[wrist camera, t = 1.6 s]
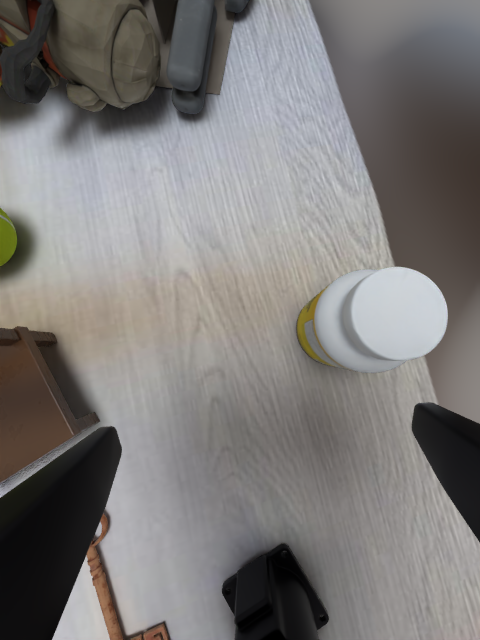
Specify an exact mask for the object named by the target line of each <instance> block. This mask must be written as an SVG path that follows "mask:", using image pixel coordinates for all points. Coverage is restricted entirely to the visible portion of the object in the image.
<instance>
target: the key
mask: <svg viewBox="0 0 480 640" xmlns="http://www.w3.org/2000/svg"><path fill="white" fill-rule="evenodd" d="M100 522H101V524H102V533H101V536H100V537H99V538H98V539H97V540H95V541H93V540H92V542H91V545H90V547H89V549H88V552H87V554H86V555H87V558H88V561H87V562H88V565H89V566H90V568H91V570H90V573H91V576H93V578H92V581H93V586H95V588H96V592H97V595H98V599H99V602H100V606H101V609H102V613H103V616H104V619H105V623H106V626H107V630H108V633H109V637H110V640H123V636H122V633H121V630H120V626H119V623H118V619H117V616H116V613H115V609H114V606H113V603H112V599H111V596H110V592H109V589H108V586H107V582H106V579H105V578H106V575H105V573H104V571H102V564H101V563H100V561H99V554H97V551H96V548H95V546H96V545H97V544H98V543H99V542H100V541H101V540H102V539H103V538H104V536H105V534H106V532H107V528H108V522H107V518H106V516H105V515H104V514H103V515H102V517H101V520H100ZM159 632H162V636H163V639H164V640H169V638H168V635H167V632H166V628H165V625H164V623H163V624H161V625H159V626H157V627H155V628H153V629H151V630H149V631H146V632H144V635H143V636H144V640H162V637H161V634H160V633H159ZM157 633H159V634H157ZM155 634H157V635H155ZM130 640H143V637H142V634H140V635H138V636H136V637H134V638H132V639H130Z"/></svg>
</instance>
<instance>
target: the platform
mask: <svg viewBox="0 0 480 640" xmlns="http://www.w3.org/2000/svg"><path fill="white" fill-rule="evenodd" d="M139 1H140V2H141V4H142V5H143V7H144V8H145V11H146V14H147V18H148V21H149V22H150V23H151V25H152V27H153V29H154V31H155V33H156V36H157V38H158V40H159V43H160V50H159V51H160V55H161V69H160V76H159V78H158V80H157V81H156V83H155V86H158V87H165V88H173V86H172V85H171V83H170V82H169V80H168V78H167V73H166V70H167V63H168V56H169V51H170V45H171V39H172V33H173V28H174V22H175V15H176V10H177V4H178V0H139ZM214 5H215V6H216V9H217V22H216V27H215V34H214V40H213V46H212V53H211V59H210V65H209V71H208V78H207V84H206V91H205V93H211V94H219V95H220V90H221V84H222V79H223V74H224V69H225V64H226V58H227V53H228V48H229V43H230V38H231V33H232V27H233V22H234V17H235V12H230V11H226V10H225V0H215V1H214Z"/></svg>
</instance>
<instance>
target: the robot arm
mask: <svg viewBox="0 0 480 640" xmlns="http://www.w3.org/2000/svg"><path fill="white" fill-rule="evenodd" d="M412 431H413V434H414V436H415V438H416V440H417V442H418V443H419V445H420V447H421V449H422V451H423V452H424V454H425V456H426V458H427V460H428V462H429V463H430V465H431V467H432V469H433V471H434V472H435V474H436V476H437V478H438V480H439V481H440V483H441V485H442V486H443V488H444V490H445V491H446V493H447V494H448V496H449V497H450V499H451V500H452V502H453V503H454V505H455V506H456V508H457V509H458V511H459V512H460V514H461V515H462V517H463V518H464V520H465V521H466V523H467V524H468V526H469V527H470V529H471V530H472V532H473V533H474V534H475V536H476V537H477V539H478V540H479V542H480V424H479V423H476V422H474V421H472V420H470V419H467V418H465V417H463V416H461V415H459V414H456V413H454V412H452V411H450V410H447V409H445V408H443V407H441V406H439V405H436V404H434V403H430V402H428V403H418V404H416V405H415V408H414V413H413V420H412ZM121 453H122V447H121V444H120V440H119V437H118V434H117V431H116V429H115V427H112V426H110V427H100V428H98V429H97V430H96V431H94V432H93V433H91V434H90V435H88V436H87V437H86V438H84V439H83V440H81V441H80V442H79V443H77V444H76V445H74V446H73V447H72V448H70V449H69V450H67V451H66V452H64V453H63V454H62V455H60V456H59V457H57V458H56V459H55V460H53V461H52V462H50V463H49V464H47V465H46V466H45V467H43V468H42V469H40V470H39V471H38V472H36V473H35V474H33V475H32V476H31V477H29V478H28V479H26V480H25V481H23V482H22V483H21V484H19V485H18V486H16V487H15V488H14V489H12V490H11V491H9V492H8V493H6V494H5V495H4V496H2V497H1V498H0V640H52V638H53V636H54V633H55V631H56V628H57V626H58V623H59V621H60V618H61V616H62V613H63V611H64V609H65V606H66V604H67V601H68V599H69V596H70V594H71V591H72V589H73V586H74V584H75V581H76V579H77V577H78V574H79V572H80V569H81V567H82V564H83V562H84V559H85V557H86V554H87V552H88V549H89V547H90V545H91V542H92V540H93V537H94V535H95V532H96V530H97V527H98V525H99V522H100V520H101V517H102V515H103V512H104V510H105V507H106V504H107V501H108V497H109V494H110V491H111V487H112V484H113V481H114V478H115V474H116V471H117V468H118V464H119V461H120V458H121ZM284 550H285V551H287V552H286V553H285V554H284V553H282V551H284ZM226 588H230V589H231V590H229V591H228V590H226ZM222 594H223V596H224V598H225V600H226V601H227V603H228V605H229V607H230V609H231V610H232V612H233V614H234V616H235V618H234V622H235V625H236V629H235V640H319V636H318V632H317V630H318V629H320V628H321V627H323V626H324V625H326V624H327V623H328V621H329V617H328V613H327V611H326V609H325V607H324V605H323V604H322V602H321V600H320V599H319V597H318V595H317V593H316V592H315V590H314V588H313V587H312V585H311V583H310V582H309V580H308V578H307V577H306V575H305V573H304V572H303V570H302V568H301V566H300V565H299V563H298V561H297V560H296V558H295V556H294V555H293V553H292V551H291V550H290V548H289V546H288V545H286V544H281V545H280V546H278V547H276V548H275V549H273V550H272V551H270V552H269V553H267V554H266V555H264V556H260V557H259V558H257V559H256V560H254V561H253V562H251V563H250V564H248V565H247V566H245V567H244V568H242V569H241V570H239V571H238V573H237V574H236V575H234V576H233V577H231V578H230V579H228V580H227V581H225V582H224V583H223V587H222ZM320 615H324V616H323V617H320Z"/></svg>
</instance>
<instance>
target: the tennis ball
mask: <svg viewBox="0 0 480 640" xmlns="http://www.w3.org/2000/svg"><path fill="white" fill-rule="evenodd" d="M16 246H17V234H16V230H15V227H14V225H13V223H12V221H11V220H10V218H9V217H8V216H7V214H6V213H5V212H4V211H3V210H2V209H1V208H0V266H2V265H3V264H5V263H6V262H7V261H8V260H9V259H10V258H11V257H12V255H13V254H14V252H15V249H16Z"/></svg>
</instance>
